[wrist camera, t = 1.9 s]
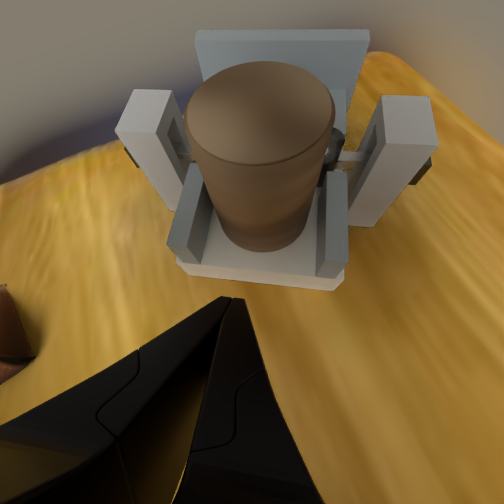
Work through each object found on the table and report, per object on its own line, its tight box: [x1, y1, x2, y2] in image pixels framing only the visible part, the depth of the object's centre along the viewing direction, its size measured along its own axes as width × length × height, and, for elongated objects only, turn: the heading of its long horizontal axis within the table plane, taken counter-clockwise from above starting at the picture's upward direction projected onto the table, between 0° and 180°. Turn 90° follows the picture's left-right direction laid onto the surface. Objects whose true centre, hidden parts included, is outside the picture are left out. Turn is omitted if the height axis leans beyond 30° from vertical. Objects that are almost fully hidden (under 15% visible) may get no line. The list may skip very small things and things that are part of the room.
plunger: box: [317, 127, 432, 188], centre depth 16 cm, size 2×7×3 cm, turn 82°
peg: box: [184, 61, 336, 253], centre depth 14 cm, size 6×6×8 cm
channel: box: [115, 29, 439, 291], centre depth 17 cm, size 15×17×9 cm
